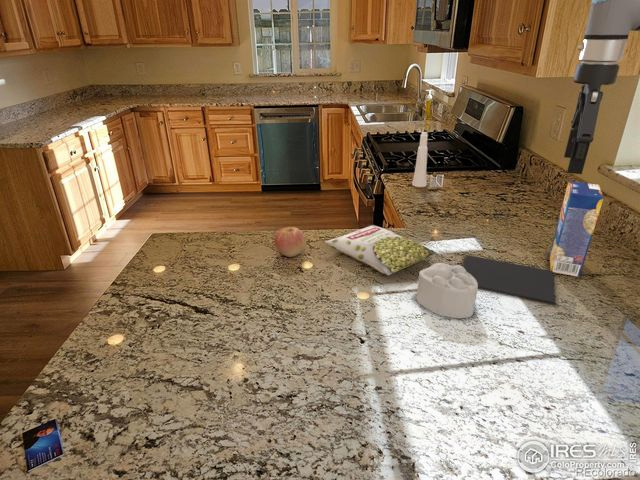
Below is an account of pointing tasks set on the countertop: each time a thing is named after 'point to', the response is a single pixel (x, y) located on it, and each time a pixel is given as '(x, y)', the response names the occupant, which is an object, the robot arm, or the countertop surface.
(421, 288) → the lumpy-topped squat cylinder
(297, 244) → the apple
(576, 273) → the beverage box
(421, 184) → the cosmetic bottle
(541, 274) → the mat
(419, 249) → the frozen beans
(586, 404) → the countertop surface
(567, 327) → the countertop surface
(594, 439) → the countertop surface
